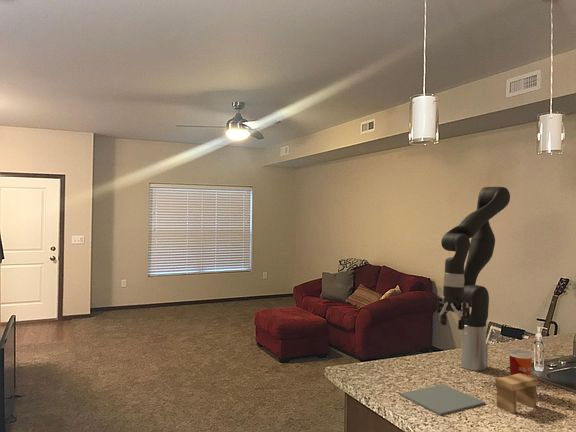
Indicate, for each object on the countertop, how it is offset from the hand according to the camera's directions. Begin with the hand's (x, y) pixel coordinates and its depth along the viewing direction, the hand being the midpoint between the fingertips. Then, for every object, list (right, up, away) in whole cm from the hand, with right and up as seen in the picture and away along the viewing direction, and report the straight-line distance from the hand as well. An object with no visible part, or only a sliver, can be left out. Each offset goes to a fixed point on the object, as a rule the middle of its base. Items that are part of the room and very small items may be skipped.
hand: (452, 327), depth 177 cm
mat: (-12, -18, -25) cm, 33 cm away
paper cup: (+18, -18, -17) cm, 31 cm away
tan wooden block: (+10, -18, -30) cm, 37 cm away
